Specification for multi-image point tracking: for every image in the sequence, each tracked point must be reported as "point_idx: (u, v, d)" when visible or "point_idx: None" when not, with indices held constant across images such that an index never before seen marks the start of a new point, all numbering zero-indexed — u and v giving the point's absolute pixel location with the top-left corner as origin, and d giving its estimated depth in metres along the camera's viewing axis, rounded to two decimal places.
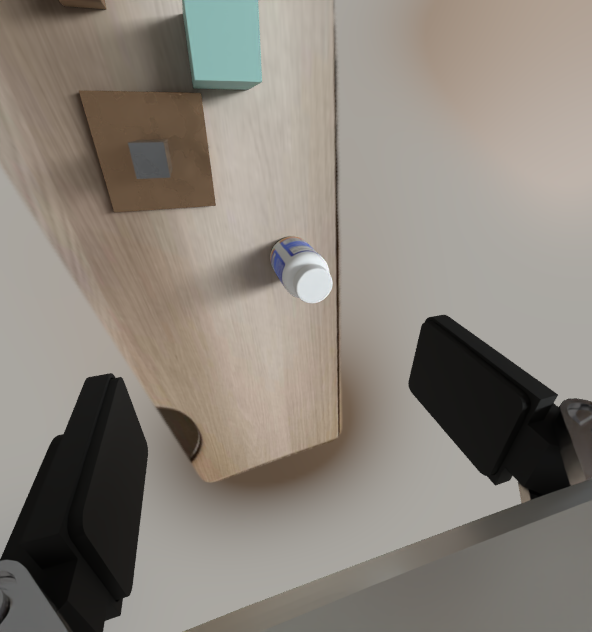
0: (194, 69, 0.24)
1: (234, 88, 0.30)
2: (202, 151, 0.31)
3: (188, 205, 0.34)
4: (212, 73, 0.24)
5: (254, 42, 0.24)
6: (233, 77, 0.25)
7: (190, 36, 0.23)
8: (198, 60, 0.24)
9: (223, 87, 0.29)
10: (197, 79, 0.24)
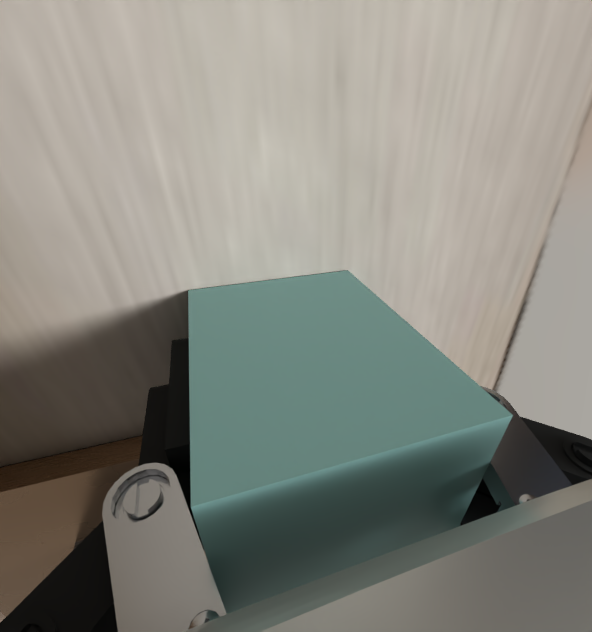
0: None
1: None
2: None
3: None
4: None
5: (451, 513, 0.07)
6: None
7: (224, 591, 0.05)
8: None
9: None
10: None
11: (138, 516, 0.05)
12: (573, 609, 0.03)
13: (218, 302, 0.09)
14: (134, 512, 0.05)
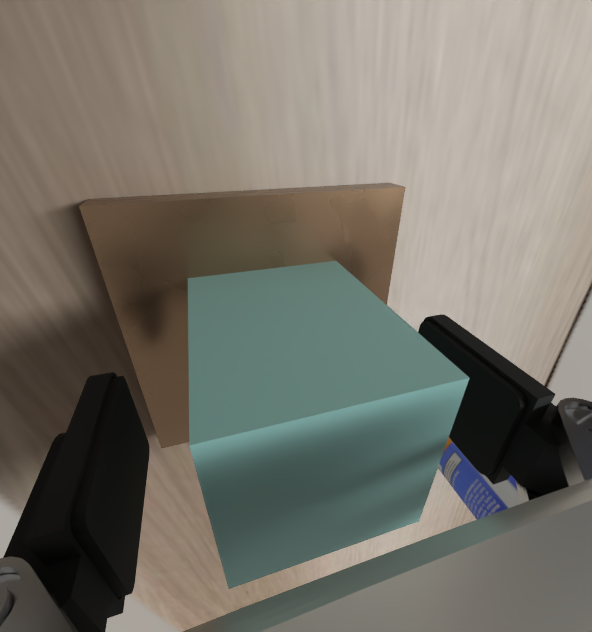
0: (228, 574, 0.07)
1: None
2: None
3: None
4: (284, 560, 0.08)
5: (422, 472, 0.07)
6: (344, 543, 0.08)
7: (219, 532, 0.06)
8: (244, 558, 0.07)
9: None
10: None
11: None
12: (573, 609, 0.03)
13: (216, 288, 0.10)
14: None
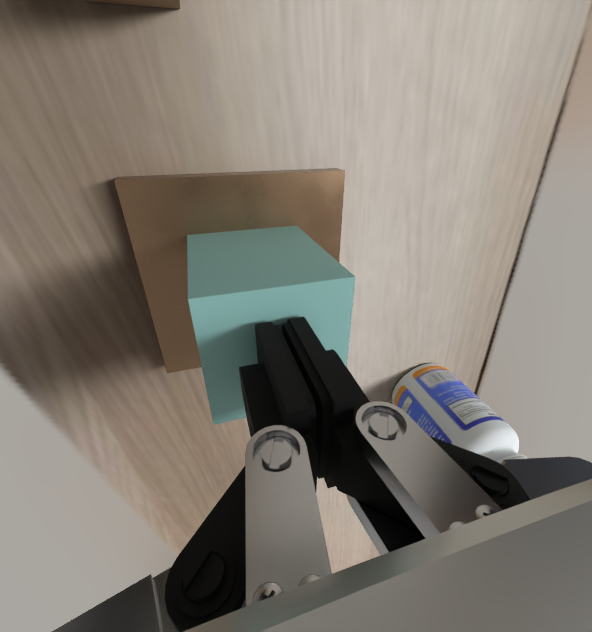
0: (213, 411, 0.11)
1: None
2: None
3: None
4: None
5: (337, 348, 0.12)
6: None
7: (206, 370, 0.10)
8: (222, 398, 0.11)
9: None
10: (218, 420, 0.12)
11: (270, 467, 0.06)
12: (573, 609, 0.03)
13: (207, 240, 0.14)
14: (268, 462, 0.06)
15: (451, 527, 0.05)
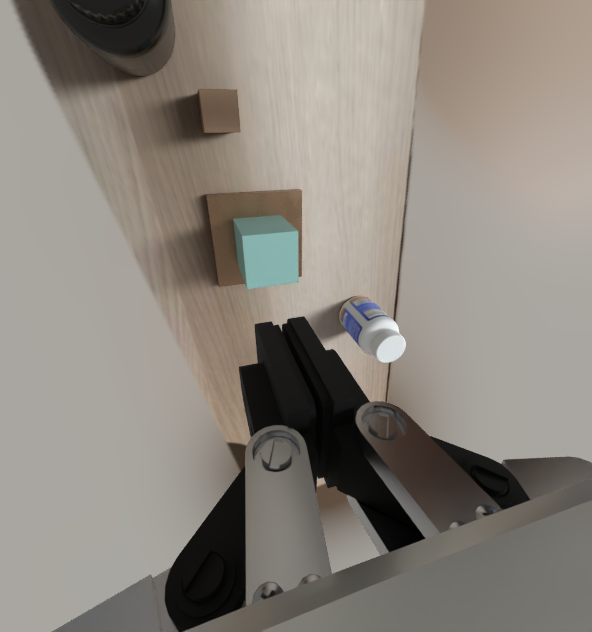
0: (247, 282, 0.30)
1: None
2: None
3: None
4: (260, 283, 0.31)
5: (294, 260, 0.31)
6: (276, 283, 0.31)
7: (245, 264, 0.29)
8: (251, 277, 0.30)
9: None
10: (249, 288, 0.31)
11: (270, 467, 0.06)
12: (573, 609, 0.03)
13: (242, 220, 0.33)
14: (268, 462, 0.06)
15: (451, 528, 0.05)
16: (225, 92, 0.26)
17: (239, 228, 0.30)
